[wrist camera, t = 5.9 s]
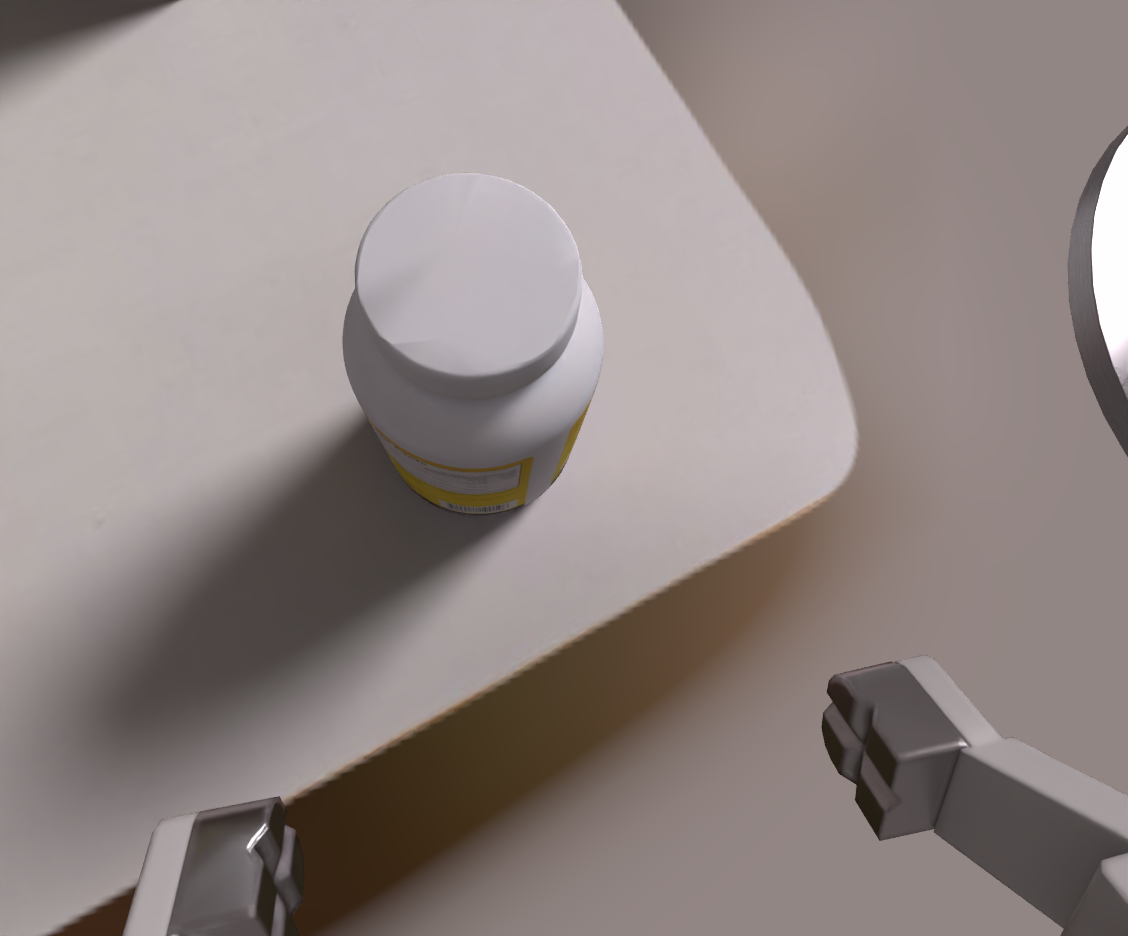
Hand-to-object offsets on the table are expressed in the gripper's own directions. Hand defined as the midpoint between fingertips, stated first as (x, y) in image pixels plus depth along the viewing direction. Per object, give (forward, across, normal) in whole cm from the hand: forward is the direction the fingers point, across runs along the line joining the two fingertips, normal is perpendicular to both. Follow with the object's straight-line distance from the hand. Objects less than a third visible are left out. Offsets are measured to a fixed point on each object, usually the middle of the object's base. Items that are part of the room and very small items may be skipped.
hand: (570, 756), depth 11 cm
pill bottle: (+16, 0, +3) cm, 17 cm away
